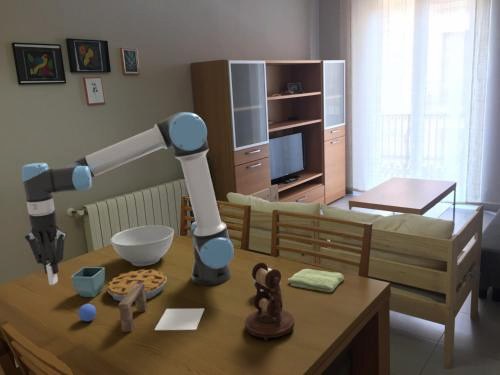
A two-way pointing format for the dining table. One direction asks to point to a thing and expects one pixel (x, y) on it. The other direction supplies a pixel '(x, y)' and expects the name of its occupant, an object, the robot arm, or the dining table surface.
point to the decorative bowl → (143, 244)
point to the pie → (126, 281)
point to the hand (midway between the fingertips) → (53, 282)
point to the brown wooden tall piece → (268, 305)
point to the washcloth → (316, 280)
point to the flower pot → (89, 281)
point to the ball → (87, 312)
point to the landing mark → (180, 319)
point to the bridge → (125, 306)
